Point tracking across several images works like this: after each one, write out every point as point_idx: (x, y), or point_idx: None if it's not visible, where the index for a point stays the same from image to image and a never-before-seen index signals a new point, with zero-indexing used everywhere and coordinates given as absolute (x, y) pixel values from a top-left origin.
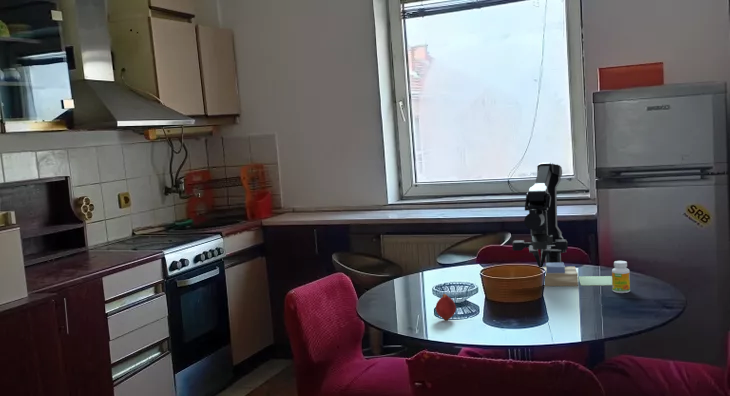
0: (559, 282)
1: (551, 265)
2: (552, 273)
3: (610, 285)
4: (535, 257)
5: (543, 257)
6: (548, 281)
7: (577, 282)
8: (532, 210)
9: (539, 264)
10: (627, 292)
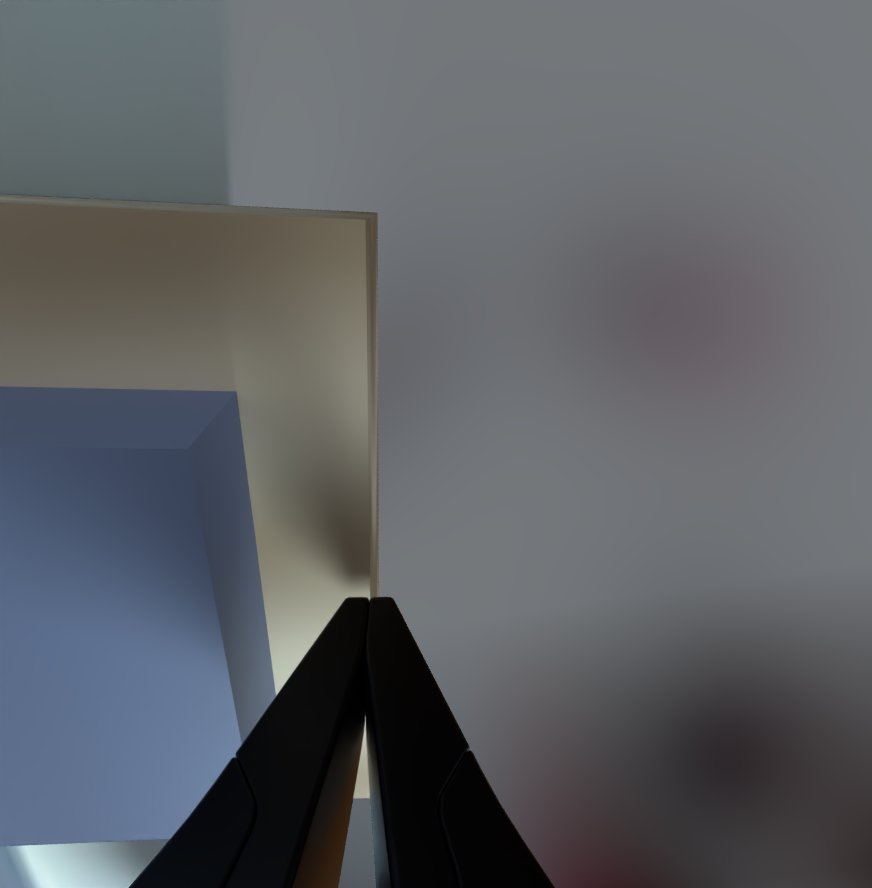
0: (29, 197)
1: (100, 644)
2: (98, 338)
3: None
4: (518, 856)
5: (218, 866)
6: (236, 207)
7: None
8: None
9: (386, 662)
10: None
